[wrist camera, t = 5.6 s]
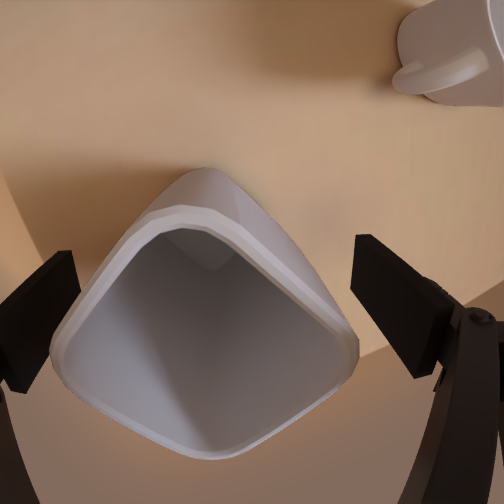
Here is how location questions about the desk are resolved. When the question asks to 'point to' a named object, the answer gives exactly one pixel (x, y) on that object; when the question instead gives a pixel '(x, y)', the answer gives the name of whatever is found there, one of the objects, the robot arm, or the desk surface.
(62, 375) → the cup
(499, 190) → the desk surface
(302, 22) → the desk surface
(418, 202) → the desk surface
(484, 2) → the mug
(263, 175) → the desk surface
